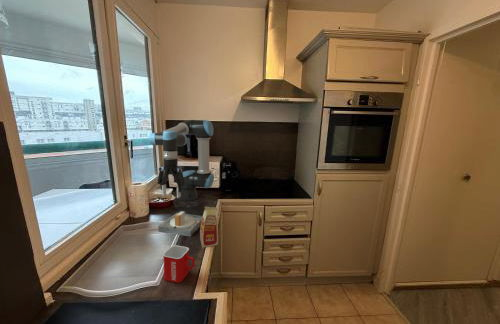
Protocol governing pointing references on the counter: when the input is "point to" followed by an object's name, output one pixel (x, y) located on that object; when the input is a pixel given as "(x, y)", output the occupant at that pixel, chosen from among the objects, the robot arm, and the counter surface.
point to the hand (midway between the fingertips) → (171, 196)
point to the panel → (189, 231)
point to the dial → (182, 221)
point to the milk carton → (209, 227)
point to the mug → (176, 263)
